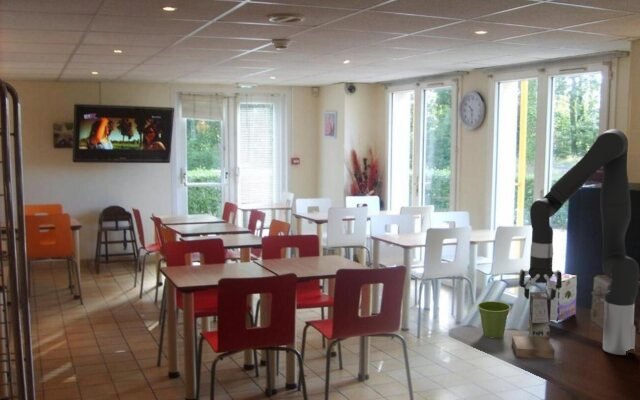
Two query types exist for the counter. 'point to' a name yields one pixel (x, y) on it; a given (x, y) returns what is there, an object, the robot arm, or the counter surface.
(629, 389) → the counter surface
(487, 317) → the plant pot
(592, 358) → the counter surface
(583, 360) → the counter surface
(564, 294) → the candy box
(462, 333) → the counter surface
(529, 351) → the light brown flat block
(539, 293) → the coffee box
